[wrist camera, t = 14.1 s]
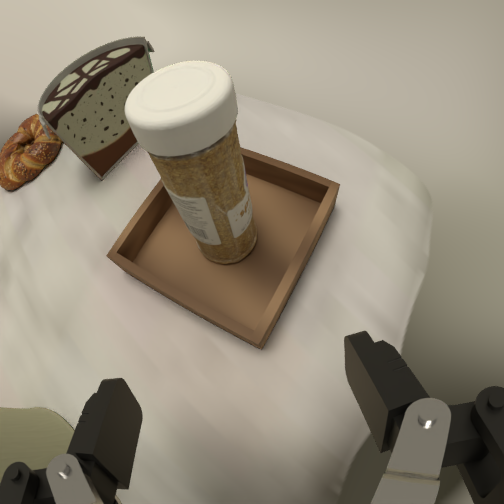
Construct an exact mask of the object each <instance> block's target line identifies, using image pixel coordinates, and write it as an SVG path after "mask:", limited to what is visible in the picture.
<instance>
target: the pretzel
mask: <svg viewBox="0 0 504 504" xmlns="http://www.w3.org/2000/svg"><path fill="white" fill-rule="evenodd" d="M46 128H47V130H48V132H49V135H50V137H51V138H50V139H49V138H48V137H47V136H46V134H45V132H44V130H43V127H42V125H41V122H40V120H39V115H38V114H35V115H33V116H31V117H30V118H28V119H26V120H25V121H24V122H23V123H22V124H21V125H20V126H19V129H18V131H17V133H15V134H14V135H13V136H12V137H10V139H9V140H8V141H7V142H6V143H5V144H4V146H3V148H2V150H1V153H0V186H1V187H2V188H4V189H6V190H14V189H17V188H19V187H20V186H21V185H23V184H24V183H25V182H26V181H28V180H32V179H34V178H35V177H36V176H38V175H39V174H40V172H41V171H42V169H43V168H44V167H45V165H46V164H49V163H51V162H52V161H53V160H54V159H55V157H56V156H57V154H58V152H59V149H60V146H61V142H63V141H62V140H61V139H60V138H59V137H58V136H57V135H56V134H55V133H54V132H53V131H52V130H51V129H50V128H49V127H48V126H47V125H46Z"/></svg>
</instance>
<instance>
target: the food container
mask: <svg viewBox="0 0 504 504" xmlns="http://www.w3.org/2000/svg"><path fill="white" fill-rule="evenodd" d="M149 52H154V50H153V48H152V46H151V45H150V43H149V41H146V40H145V37H130V38H124V39H120V40H116V41H113V42H110V43H107V44H105V45H103V46H100V47H98V48H96V49H94V50H92V51H90V52H88V53H87V54H85V55H83V56H81V57H80V58H78V59H77V60H75V61H74V62H73V63H71V64H70V65H69V66H67V67H66V68H65V69H64V70H63V71H61V72H60V73H59V74H58V75H57V76H56V77H55V78H54V79H53V81H52V82H51V83H50V84H49V85H48V87H47V88H46V89H45V91H44V93H43V94H42V96H41V98H40V100H39V104H38V113H39V120H40V122H41V125H42V127H43V130H44V132H45V134H46V136H47V137H48V138H49V139H50V138H51V137H50V135H49V132H48V130H47V128H46V125H47V126H48V127H49V128H50V129H51V130H52V131H53V132H54V133H55V134H56V135H57V136H58V137H59V138H60V139H61V140H62V141H63V142H64V143H65V144H66V145H67V146H68V147H69V148H70V149H71V150H72V151H73V152H74V153H75V154H76V156H77V157H78V158H79V159H80V160H81V161H82V162H83V163H84V164H85V165H86V166H87V167H88V168H89V169H90V170H91V171H92V172H93V173H94V174H95V175H96V176H97V177H99V178H100V179H101V180H103V179H104V178H105V177H106V176H107V175H108V174H109V173H110V172H111V171H112V170H113V169H114V168H115V167H116V166H117V165H118V164H119V163H120V161H121V160H122V159H123V158H124V157H125V156H126V155H127V154H128V153H129V152H131V151H132V150H133V149H134V148H135V147H136V146H137V145H138V144H139V143H138V141H137V139H136V137H135V135H134V134H133V132H132V129H131V127H130V125H129V123H128V121H127V118H126V115H125V103H126V100H127V98H128V96H129V94H130V93H131V91H132V90H133V89H134V88H135V87H136V85H137V84H138V83H140V82H141V81H142V80H143V79H144V78H146V77H147V76H149V75H150V74H152V73H154V72H153V68H152V63H151V59H150V55H149Z"/></svg>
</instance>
